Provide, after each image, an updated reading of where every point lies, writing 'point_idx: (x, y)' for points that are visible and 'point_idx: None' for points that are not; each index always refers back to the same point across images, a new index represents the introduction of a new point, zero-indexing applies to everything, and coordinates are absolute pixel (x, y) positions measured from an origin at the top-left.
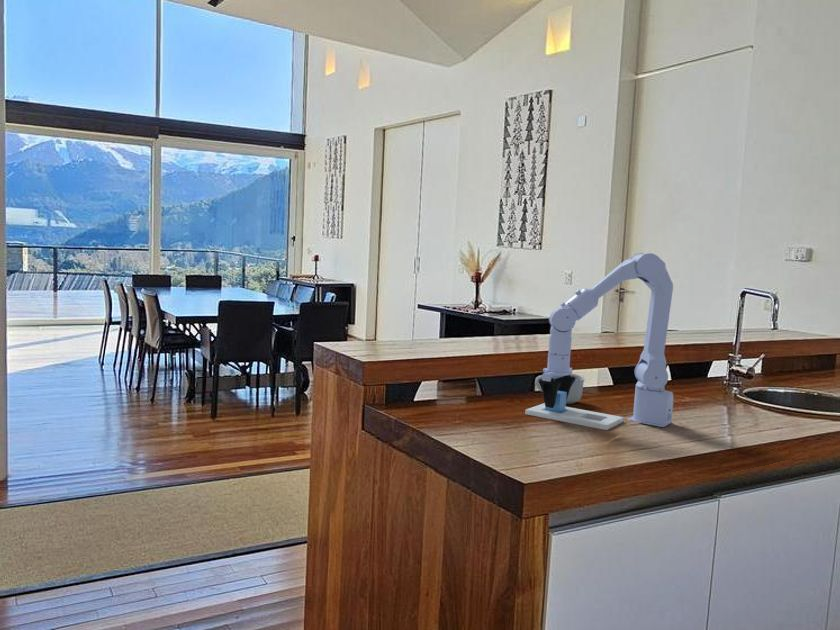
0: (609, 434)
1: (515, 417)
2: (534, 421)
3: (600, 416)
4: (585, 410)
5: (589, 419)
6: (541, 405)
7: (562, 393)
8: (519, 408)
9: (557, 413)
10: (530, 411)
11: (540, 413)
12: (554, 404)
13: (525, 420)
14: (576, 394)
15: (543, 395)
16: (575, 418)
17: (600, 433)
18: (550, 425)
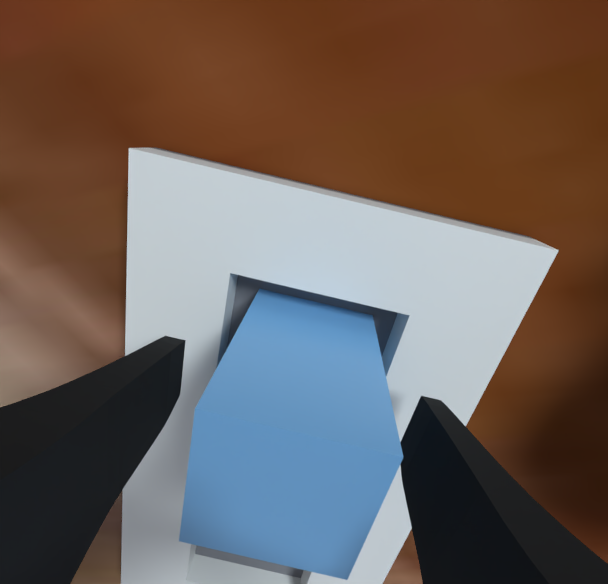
0: (104, 571)
1: (41, 87)
2: (48, 255)
3: (308, 577)
4: (406, 523)
5: (175, 544)
6: (407, 244)
7: (232, 553)
8: (422, 2)
9: (190, 396)
10: (133, 200)
11: (131, 287)
12: (163, 419)
13: (21, 191)
14: None
15: (75, 379)
16: (141, 491)
17: (91, 547)
18: (39, 358)
